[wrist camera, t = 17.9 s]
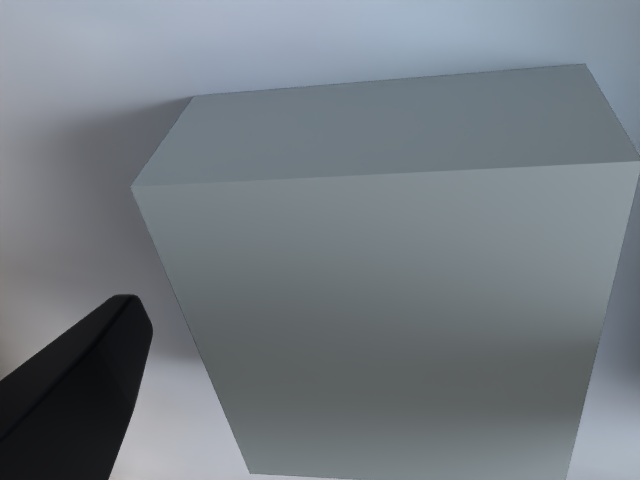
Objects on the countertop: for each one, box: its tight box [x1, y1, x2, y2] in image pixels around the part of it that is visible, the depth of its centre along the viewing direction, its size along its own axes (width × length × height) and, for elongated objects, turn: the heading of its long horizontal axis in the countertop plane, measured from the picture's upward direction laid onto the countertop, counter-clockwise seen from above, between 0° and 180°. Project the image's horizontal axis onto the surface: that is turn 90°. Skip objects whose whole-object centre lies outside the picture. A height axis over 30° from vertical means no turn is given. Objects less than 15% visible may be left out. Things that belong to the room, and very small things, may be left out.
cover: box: [130, 64, 640, 480], centre depth 10 cm, size 7×6×3 cm
